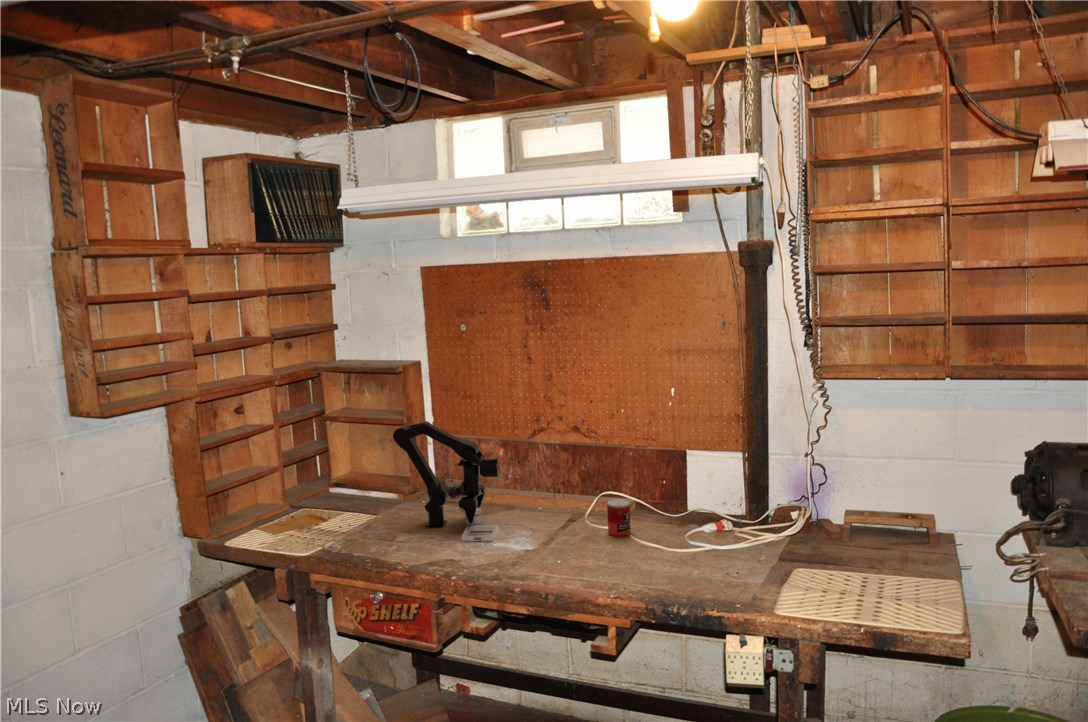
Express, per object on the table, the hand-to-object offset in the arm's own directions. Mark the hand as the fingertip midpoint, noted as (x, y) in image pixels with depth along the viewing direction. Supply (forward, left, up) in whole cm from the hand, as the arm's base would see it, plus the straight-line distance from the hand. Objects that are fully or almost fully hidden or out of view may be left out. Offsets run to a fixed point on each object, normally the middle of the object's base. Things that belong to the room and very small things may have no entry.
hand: (473, 519), depth 290 cm
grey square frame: (+12, +5, -2) cm, 13 cm away
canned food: (+9, +53, -2) cm, 54 cm away
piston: (0, 0, -2) cm, 2 cm away
